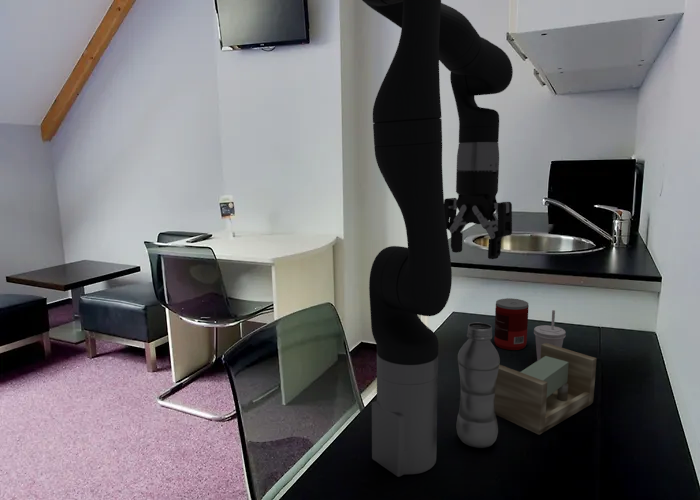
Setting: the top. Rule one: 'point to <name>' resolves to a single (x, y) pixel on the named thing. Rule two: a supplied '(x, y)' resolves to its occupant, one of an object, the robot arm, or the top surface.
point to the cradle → (545, 392)
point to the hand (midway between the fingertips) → (474, 255)
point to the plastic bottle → (478, 387)
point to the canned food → (511, 323)
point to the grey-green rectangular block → (549, 372)
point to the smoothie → (548, 335)
